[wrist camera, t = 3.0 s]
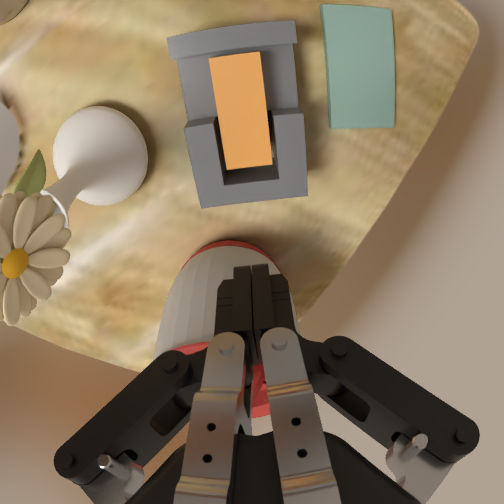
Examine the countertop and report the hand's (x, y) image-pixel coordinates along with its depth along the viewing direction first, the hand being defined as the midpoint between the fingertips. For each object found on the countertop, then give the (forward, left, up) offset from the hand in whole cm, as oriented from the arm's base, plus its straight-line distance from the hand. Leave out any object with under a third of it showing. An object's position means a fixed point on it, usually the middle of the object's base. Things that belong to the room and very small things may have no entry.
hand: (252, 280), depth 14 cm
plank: (-4, 0, -18) cm, 19 cm away
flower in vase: (-2, -15, -22) cm, 26 cm away
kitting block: (-4, 0, -21) cm, 22 cm away
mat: (-7, +12, -21) cm, 25 cm away
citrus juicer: (+17, -4, -22) cm, 28 cm away
